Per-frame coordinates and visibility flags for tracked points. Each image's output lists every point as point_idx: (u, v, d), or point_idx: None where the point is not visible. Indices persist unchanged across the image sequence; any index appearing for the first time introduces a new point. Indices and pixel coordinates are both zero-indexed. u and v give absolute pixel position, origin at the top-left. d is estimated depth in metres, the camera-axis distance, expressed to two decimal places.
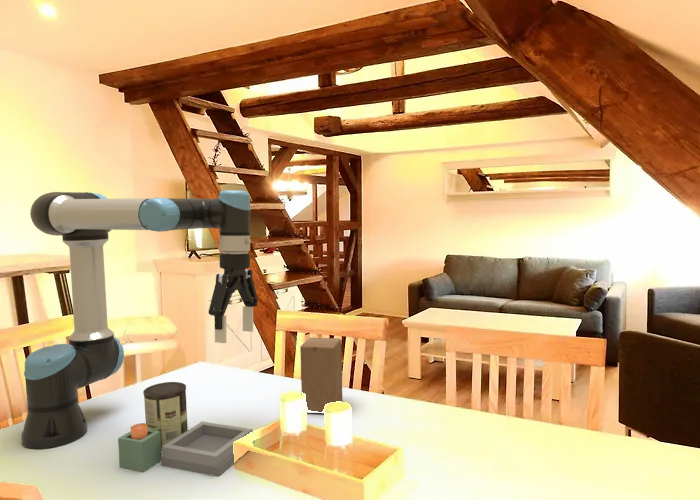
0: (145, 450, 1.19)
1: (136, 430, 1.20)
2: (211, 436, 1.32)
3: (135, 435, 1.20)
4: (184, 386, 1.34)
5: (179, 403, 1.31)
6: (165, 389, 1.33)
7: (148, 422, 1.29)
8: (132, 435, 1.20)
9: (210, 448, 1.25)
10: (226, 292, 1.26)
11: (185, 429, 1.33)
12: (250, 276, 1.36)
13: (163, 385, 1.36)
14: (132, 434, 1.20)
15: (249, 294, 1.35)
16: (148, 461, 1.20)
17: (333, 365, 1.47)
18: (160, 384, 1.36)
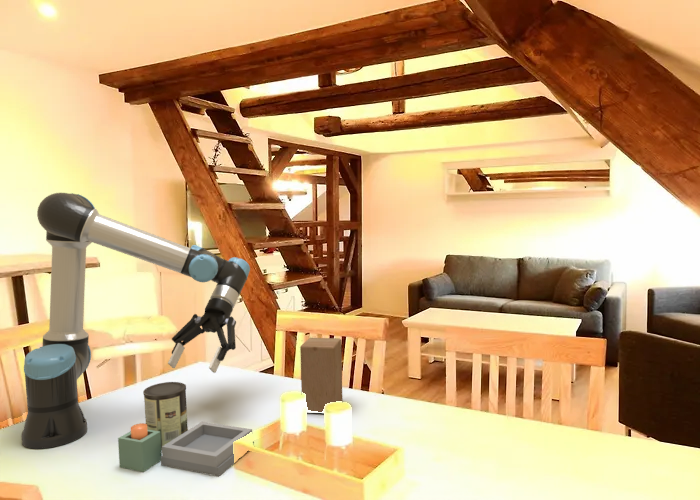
0: (145, 450, 1.19)
1: (136, 430, 1.20)
2: (211, 436, 1.32)
3: (135, 435, 1.20)
4: (184, 386, 1.34)
5: (179, 403, 1.31)
6: (165, 389, 1.33)
7: (148, 422, 1.29)
8: (132, 435, 1.20)
9: (210, 448, 1.25)
10: (222, 332, 1.48)
11: (185, 429, 1.33)
12: None
13: (163, 385, 1.36)
14: (132, 434, 1.20)
15: None
16: (148, 461, 1.20)
17: (333, 365, 1.47)
18: (160, 384, 1.36)
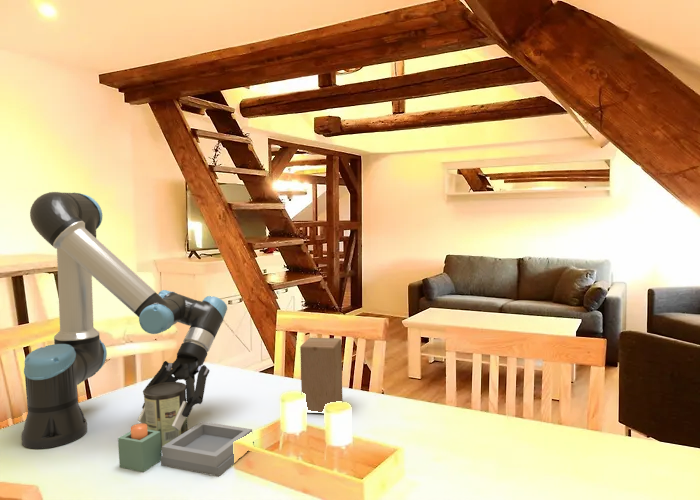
0: (145, 450, 1.19)
1: (136, 430, 1.20)
2: (211, 436, 1.32)
3: (135, 435, 1.20)
4: (184, 386, 1.34)
5: (179, 402, 1.31)
6: (165, 388, 1.33)
7: (148, 422, 1.29)
8: (132, 435, 1.20)
9: (210, 448, 1.25)
10: (192, 382, 1.37)
11: (185, 429, 1.33)
12: None
13: (163, 384, 1.36)
14: (132, 434, 1.20)
15: None
16: (148, 461, 1.20)
17: (333, 365, 1.47)
18: (160, 384, 1.36)
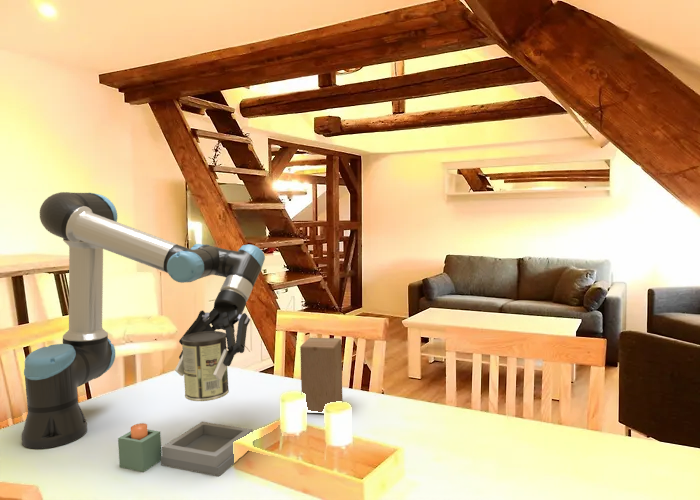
0: (145, 450, 1.19)
1: (136, 430, 1.20)
2: (211, 436, 1.32)
3: (135, 435, 1.20)
4: (224, 334, 1.25)
5: (220, 350, 1.21)
6: (205, 336, 1.23)
7: (187, 371, 1.20)
8: (132, 435, 1.20)
9: (210, 448, 1.25)
10: (232, 331, 1.27)
11: (226, 380, 1.24)
12: None
13: (201, 333, 1.27)
14: (132, 434, 1.20)
15: None
16: (148, 461, 1.20)
17: (333, 365, 1.47)
18: (198, 333, 1.27)
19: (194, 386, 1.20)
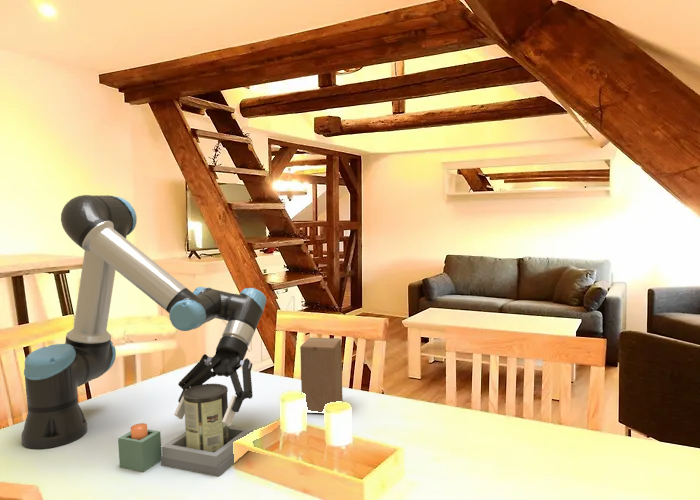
0: (145, 450, 1.19)
1: (136, 430, 1.20)
2: None
3: (135, 435, 1.20)
4: (226, 388, 1.26)
5: (222, 406, 1.22)
6: (206, 391, 1.25)
7: (189, 426, 1.21)
8: (132, 435, 1.20)
9: None
10: (237, 377, 1.28)
11: (227, 434, 1.25)
12: None
13: (203, 386, 1.28)
14: (132, 434, 1.20)
15: None
16: (148, 461, 1.20)
17: (333, 365, 1.47)
18: (199, 386, 1.28)
19: (195, 442, 1.21)
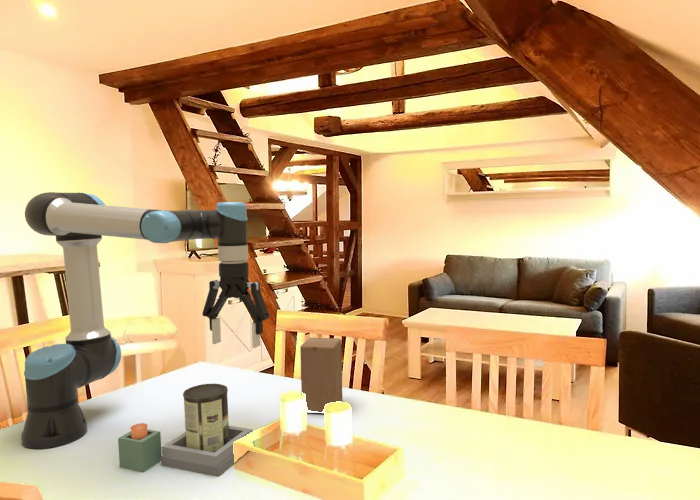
0: (145, 450, 1.19)
1: (136, 430, 1.20)
2: None
3: (135, 435, 1.20)
4: (226, 388, 1.26)
5: (222, 406, 1.22)
6: (206, 391, 1.25)
7: (189, 426, 1.21)
8: (132, 435, 1.20)
9: None
10: (249, 299, 1.34)
11: (227, 434, 1.25)
12: None
13: (203, 386, 1.28)
14: (132, 434, 1.20)
15: None
16: (148, 461, 1.20)
17: (333, 365, 1.47)
18: (199, 386, 1.28)
19: (195, 442, 1.21)
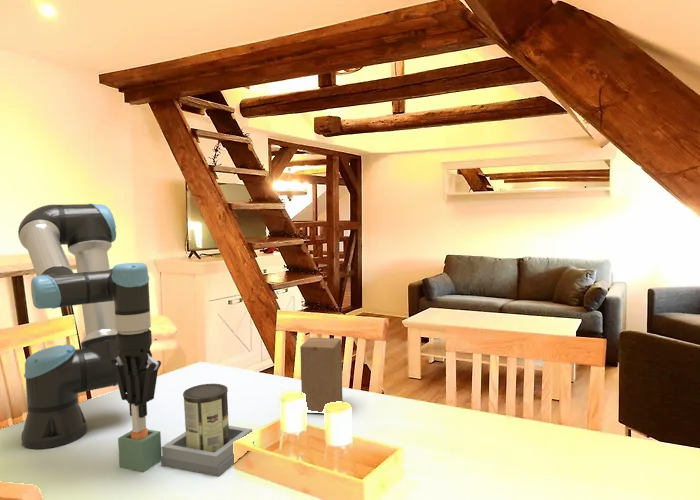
0: (145, 450, 1.19)
1: (136, 435, 1.20)
2: None
3: None
4: (225, 388, 1.26)
5: (222, 406, 1.22)
6: (206, 391, 1.25)
7: (189, 426, 1.21)
8: None
9: None
10: (143, 377, 1.20)
11: (227, 434, 1.25)
12: None
13: (203, 386, 1.28)
14: (132, 438, 1.20)
15: None
16: (148, 461, 1.20)
17: (333, 365, 1.47)
18: (199, 386, 1.28)
19: (195, 442, 1.21)
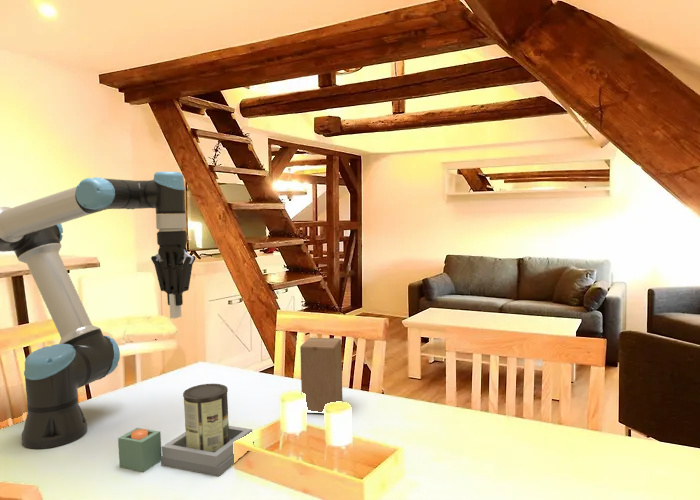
0: (145, 450, 1.19)
1: (136, 436, 1.20)
2: None
3: None
4: (225, 388, 1.26)
5: (222, 406, 1.22)
6: (206, 391, 1.25)
7: (189, 426, 1.21)
8: None
9: None
10: (180, 270, 1.39)
11: (227, 434, 1.25)
12: None
13: (203, 386, 1.28)
14: None
15: None
16: (148, 461, 1.20)
17: (333, 365, 1.47)
18: (199, 386, 1.28)
19: (195, 442, 1.21)
